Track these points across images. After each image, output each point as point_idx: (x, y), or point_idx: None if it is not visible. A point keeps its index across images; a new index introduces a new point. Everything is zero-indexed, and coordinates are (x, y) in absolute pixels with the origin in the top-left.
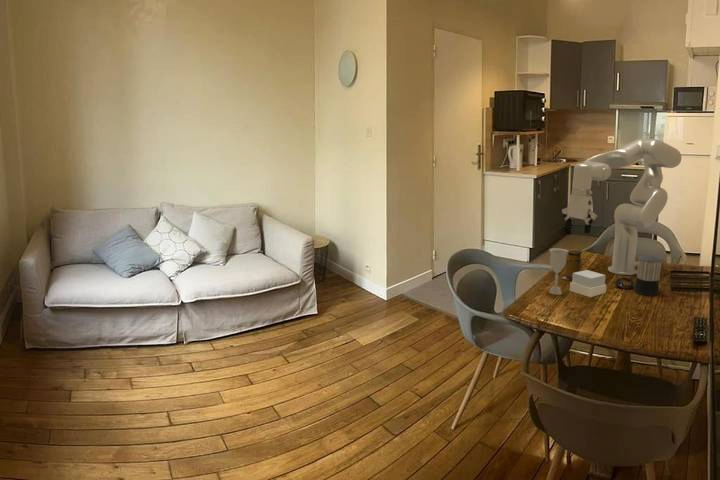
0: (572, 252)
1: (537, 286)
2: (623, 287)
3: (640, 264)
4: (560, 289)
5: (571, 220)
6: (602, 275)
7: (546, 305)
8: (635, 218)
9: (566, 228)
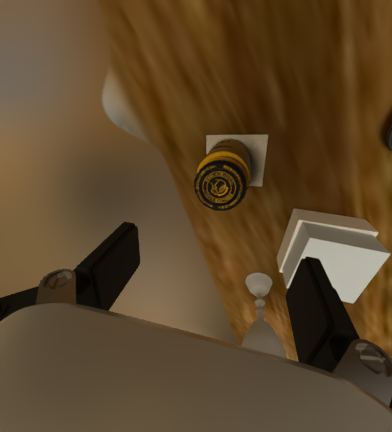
0: (211, 191)
1: (209, 270)
2: None
3: None
4: (267, 284)
5: (90, 269)
6: (380, 262)
7: (281, 338)
8: None
9: (134, 268)
